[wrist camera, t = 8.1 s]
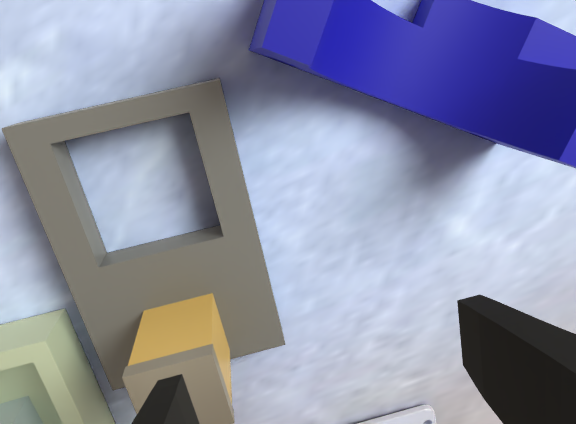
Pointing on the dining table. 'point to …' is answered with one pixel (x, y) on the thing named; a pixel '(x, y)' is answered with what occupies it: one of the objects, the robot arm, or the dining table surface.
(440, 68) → the cable clip
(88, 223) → the block
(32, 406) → the grey-green rectangular block
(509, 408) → the robot arm
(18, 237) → the dining table surface
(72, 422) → the parts tray
